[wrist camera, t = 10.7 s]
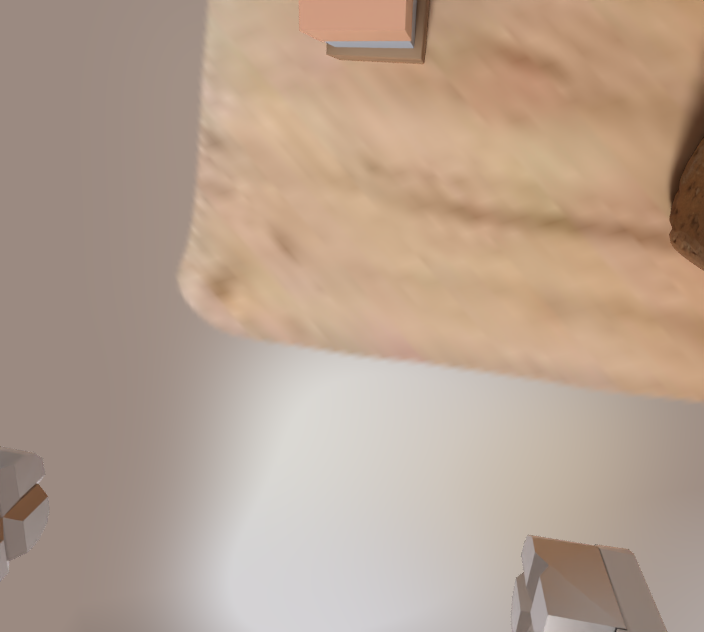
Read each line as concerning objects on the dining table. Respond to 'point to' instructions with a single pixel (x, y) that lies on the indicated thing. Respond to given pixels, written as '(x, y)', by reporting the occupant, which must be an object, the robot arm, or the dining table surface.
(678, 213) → the brown oval lump
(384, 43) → the tower mid
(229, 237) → the dining table surface
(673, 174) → the dining table surface
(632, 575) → the robot arm
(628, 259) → the dining table surface
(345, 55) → the tower base
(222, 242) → the dining table surface
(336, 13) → the cube
